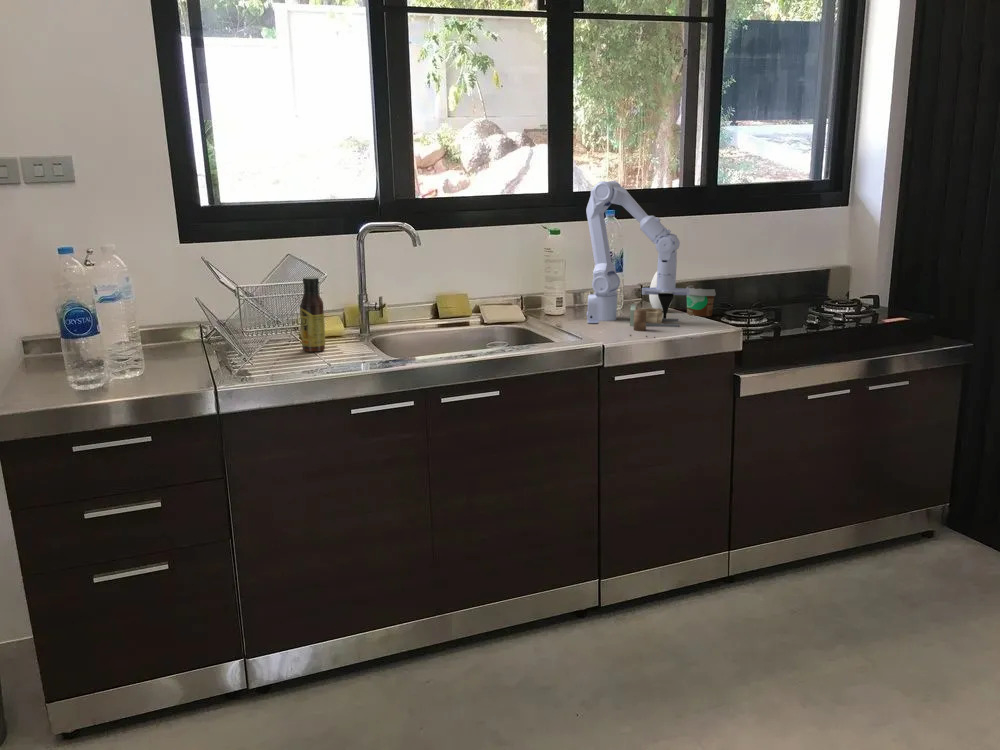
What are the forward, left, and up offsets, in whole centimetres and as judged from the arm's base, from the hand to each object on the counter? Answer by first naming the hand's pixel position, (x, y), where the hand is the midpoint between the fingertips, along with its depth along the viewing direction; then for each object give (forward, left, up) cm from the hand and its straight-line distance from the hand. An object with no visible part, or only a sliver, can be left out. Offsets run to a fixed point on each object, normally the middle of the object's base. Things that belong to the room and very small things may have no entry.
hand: (664, 318), depth 258 cm
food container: (+10, +19, -3) cm, 22 cm away
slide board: (-3, 0, -3) cm, 4 cm away
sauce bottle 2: (-1, +29, -3) cm, 29 cm away
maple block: (-5, 0, -2) cm, 5 cm away
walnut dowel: (-8, -12, -3) cm, 14 cm away
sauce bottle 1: (-95, -51, -3) cm, 107 cm away
